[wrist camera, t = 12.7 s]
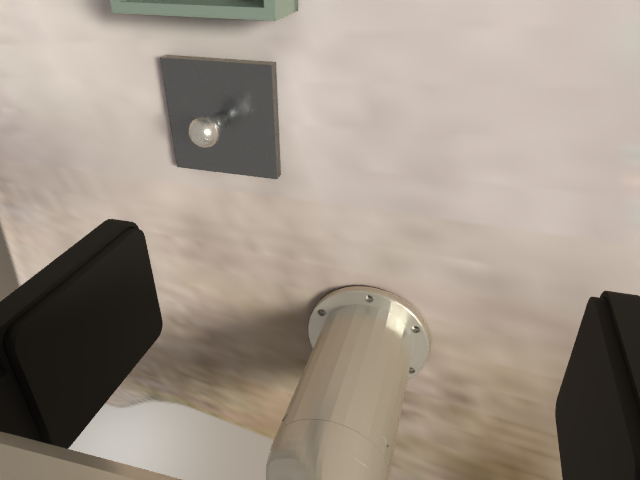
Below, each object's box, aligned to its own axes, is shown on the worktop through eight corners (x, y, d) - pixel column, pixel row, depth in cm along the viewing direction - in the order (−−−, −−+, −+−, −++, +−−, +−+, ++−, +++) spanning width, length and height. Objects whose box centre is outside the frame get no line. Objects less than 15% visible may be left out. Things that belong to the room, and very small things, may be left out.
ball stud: (280, 174, 48) (259, 200, 44) (182, 162, 51) (152, 185, 46) (275, 62, 43) (251, 78, 39) (166, 54, 46) (131, 69, 41)
